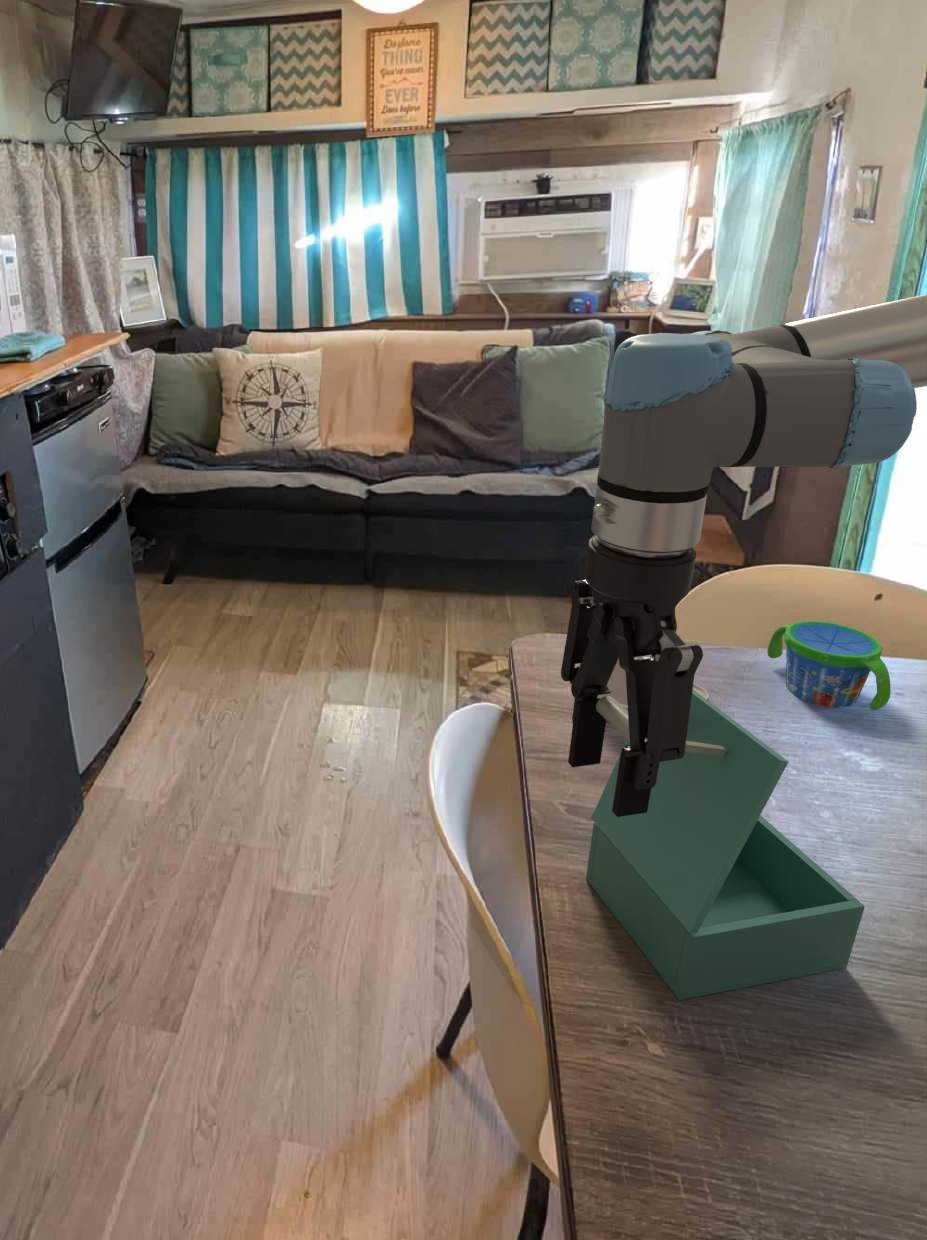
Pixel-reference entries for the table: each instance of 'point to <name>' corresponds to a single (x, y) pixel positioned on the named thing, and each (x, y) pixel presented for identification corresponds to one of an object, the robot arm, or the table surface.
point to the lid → (693, 808)
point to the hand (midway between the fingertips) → (605, 785)
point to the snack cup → (830, 663)
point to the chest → (736, 918)
